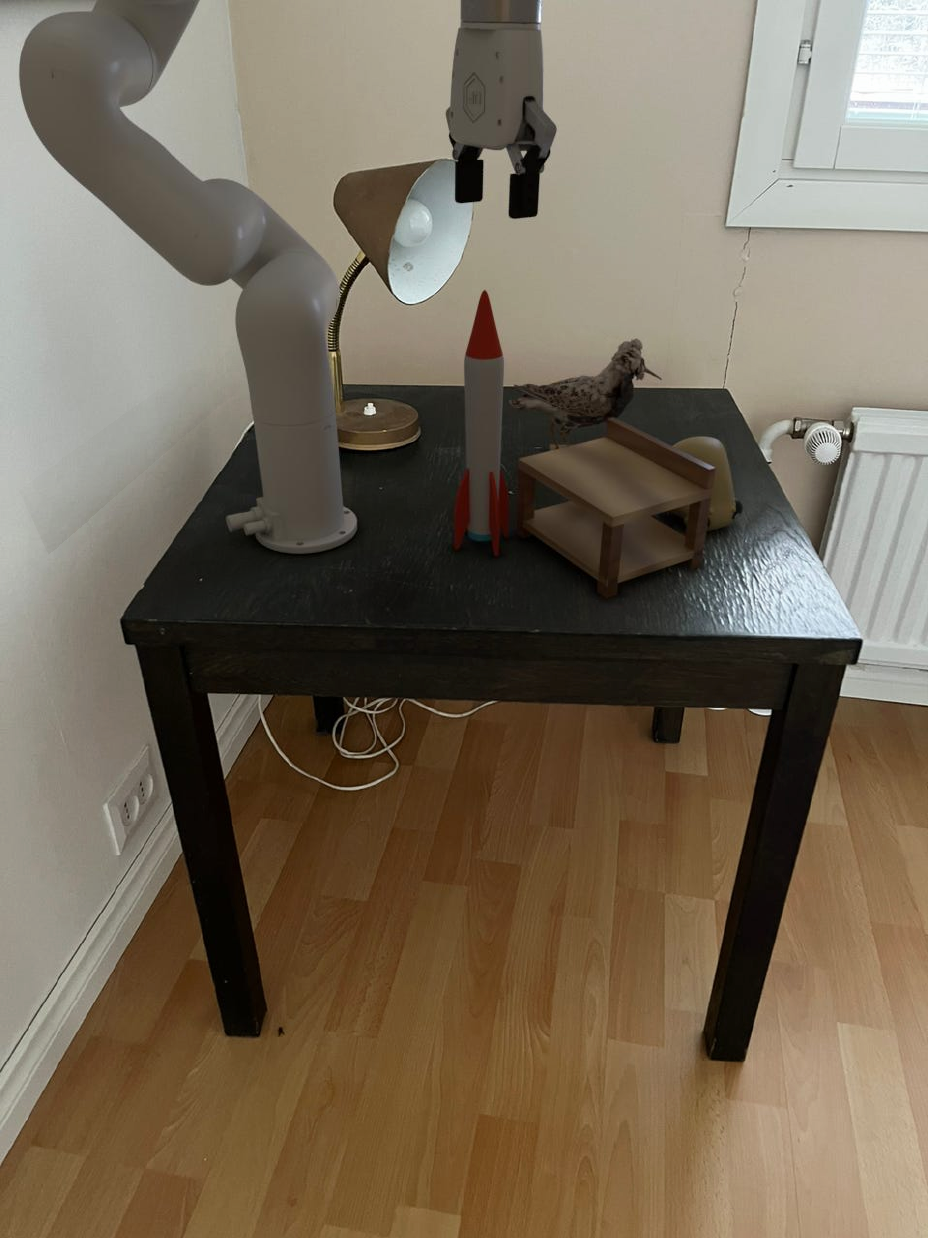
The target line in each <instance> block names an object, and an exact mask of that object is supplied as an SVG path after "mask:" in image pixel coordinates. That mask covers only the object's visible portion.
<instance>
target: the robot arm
mask: <svg viewBox="0 0 928 1238" xmlns="http://www.w3.org/2000/svg"><path fill="white" fill-rule="evenodd" d="M200 1H201V0H96V1H95V4H94V6H93V8H92V10H91V11H89V10H88V11H86V10H85V11H83V10H81V11H76V10H75V11H64V12H63V11H62V12H59V13H56V14H53V15H50V16H47V17H45V18H44V19H42V20H41V21H40V22H38V23H37V24H36V25H35V26H34V27H33V28H31V30H30V32H29V33H28V35H27V36H26V38H25V40H24V44H23V46H22V49H21V51H20V56H19V57H20V58H19V65H18V66H19V67H18V81H19V89H20V95H21V99H22V103H23V106H24V111H25V113H26V115H27V118H28V121H29V123H30V125H31V127H32V129H33V131H34V133H35V134H36V136H37V138H38V139H39V141H40V142H41V144H42V146H44V148H45V150H46V151H47V152H48V153H49V154H50V156H51V157H52V158H53V159H54V160H55V161H56V162H57V163H58V164H59V165H60V166H61V167H62V168H63V169H64V170H65V171H66V173H67V174H69V175H70V176H71V177H72V178H73V179H75V180H76V181H77V182H78V183H79V184H80V185H81V186H83V188H85V189H86V190H87V191H88V192H89V193H91V194H92V195H93V196H94V197H95V198H96V199H98V200H99V201H100V202H101V203H102V204H103V205H104V206H105V207H107V208H108V209H109V210H110V211H111V212H112V213H113V214H114V215H115V216H116V217H118V219H120V221H122V223H124V224H125V225H126V226H127V228H129V229H130V230H132V231H133V232H134V233H135V234H136V235H137V236H138V237H139V238H140V239H141V240H143V242H145V243H146V244H147V245H148V246H149V247H150V248H151V249H152V250H154V252H156V253H157V254H158V255H159V256H160V257H161V258H162V259H164V260H165V261H166V262H167V263H168V264H169V265H170V266H171V267H172V268H173V269H174V270H176V271H177V272H178V273H179V274H180V275H181V276H182V277H184V278H186V279H187V280H189V281H190V282H192V283H194V284H197V285H200V286H204V287H207V286H208V287H211V286H213V287H214V286H218V285H221V284H223V283H225V282H227V281H229V280H231V281H232V282H234V283H235V284H236V285H237V286H238V287H239V288H240V289H242V291H241V293H240V294H239V297H238V300H237V303H236V308H235V320H234V322H235V332H236V333H235V334H236V338H237V342H238V347H239V350H240V353H241V357H242V361H243V365H244V369H245V374H246V379H247V385H248V391H249V401H250V407H251V414H252V419H253V427H254V434H255V441H256V450H257V457H258V466H259V474H260V481H261V489H262V497H256V499H255V500H256V506H253V507H250V510H249V511H245V512H238V513H233V514H230V515H226V517H225V522H226V525H227V528H228V530H229V532H236V531H239V530H243V531H244V534H245V536H251V535H255V539H256V540H257V541H258V543H260V544H261V545H262V546H263V547H265V548H266V549H269V550H272V551H275V552H280V553H283V554H291V555H303V554H304V555H305V554H315V553H321V552H325V551H329V550H332V549H335V548H338V547H339V546H342V545H343V544H345V543H347V542H348V541H350V540H351V539H352V538H353V537H354V536H355V535H356V532H357V531H358V519H357V516H356V514H355V513H354V512H353V511H352V510H351V509H349V508H347V507H345V506H344V499H343V486H342V474H341V472H342V471H341V461H340V460H341V459H340V449H339V447H340V446H339V435H338V425H337V423H338V422H337V412H336V411H337V410H336V401H335V389H334V379H333V374H332V373H333V372H332V368H331V361H330V356H329V355H330V354H329V350H328V338H327V337H328V336H327V335H328V329H329V327H330V325H331V323H332V321H333V319H335V316H336V314H337V311H338V308H339V306H340V302H341V301H340V300H341V289H340V284H339V281H338V277H337V275H336V273H335V271H334V270H333V268H332V267H331V265H330V264H329V262H328V261H327V260H326V259H325V257H323V256H322V255H321V254H320V253H319V252H318V251H317V250H316V249H315V248H314V246H312V245H311V244H310V243H309V242H308V241H307V240H306V239H305V238H304V237H303V236H302V235H301V234H299V232H298V231H296V230H295V229H294V227H293V226H291V225H290V224H289V223H288V222H287V221H286V219H284V218H283V217H282V216H281V215H280V214H279V213H278V212H276V210H274V208H272V207H271V206H270V205H269V204H268V203H267V202H266V201H265V200H264V199H263V198H262V197H261V196H259V195H258V194H257V193H256V192H254V191H253V190H251V189H250V188H249V187H247V186H245V185H244V184H242V183H240V182H237V181H235V180H232V179H229V178H222V177H221V178H220V177H219V178H217V177H216V178H209V179H205V180H202V179H200V178H199V177H198V176H197V175H195V174H194V173H193V172H191V170H190V169H188V168H187V167H186V166H185V165H184V164H183V163H181V161H180V160H178V159H177V158H176V157H175V155H173V154H172V153H171V152H170V151H169V150H168V148H166V146H164V145H163V144H162V143H161V142H159V141H158V140H157V139H156V138H155V137H154V136H152V135H151V134H150V133H148V132H147V131H145V130H144V129H143V128H141V127H139V126H138V125H137V124H135V123H134V122H133V121H132V120H131V119H129V117H128V116H126V114H125V113H124V112H123V111H122V108H123V107H128V106H132V105H135V104H137V103H139V102H140V101H142V100H143V99H145V98H146V97H147V96H148V95H149V94H150V93H151V92H152V90H153V89H154V88H155V86H156V85H157V84H158V82H159V81H160V78H161V76H162V75H163V74H164V71H165V69H166V68H167V65H168V63H169V62H170V59H171V58H172V56H173V54H174V52H175V50H176V48H177V46H178V44H179V42H180V40H181V39H182V37H183V34H184V33H185V31H186V29H187V27H188V26H189V23H190V22H191V19H192V18H193V15H194V13H195V12H196V9H197V7H198V5H199V3H200ZM542 10H543V0H460V19H459V20H460V23H459V24H460V26H459V27H457V28H458V29H457V34H456V38H455V45H454V52H453V59H452V69H451V84H450V100H449V101H450V102H449V106H448V108H447V109H446V110H445V119H446V123H447V127H448V131H449V132H448V139H449V142H450V144H451V147H452V150H451V157H452V160H453V161H454V202H456V203H457V204H469V203H480V202H482V201H483V199H484V167H485V165H484V162H485V160H484V159H480V157H481V155H482V153H483V151H484V149H485V150H490V151H502V150H505V149H506V152H507V155H508V157H509V159H510V163H511V165H512V168H513V170H514V173H510V174H509V186H508V187H509V190H508V217H509V219H513V220H519V219H527V218H529V219H530V218H535V217H537V216H538V213H539V201H540V200H539V199H540V198H539V197H540V179H541V174H542V173H544V171H545V164H546V162H547V160H548V159H549V158H550V156H551V148H552V146H553V143H554V140H555V138H556V134H557V131H558V129H557V125H556V124H555V122H554V121H553V120H552V119H551V118H550V117H549V115H548V114H547V113H546V111H544V108H545V107H544V106H545V70H544V68H545V67H544V49H543V38H542V37H543V36H542ZM522 152H525V154H524V155H523V154H522Z"/></svg>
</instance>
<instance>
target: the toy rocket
mask: <svg viewBox="0 0 928 1238" xmlns="http://www.w3.org/2000/svg"><path fill="white" fill-rule="evenodd" d="M463 376H464V377H463V383H464V420H465V423H464V424H465V425H464V426H465V461H466V462H465V463H466V465H465V466H466V467H465V468H466V470H465V472H464V474H463V477H462V479H461V481H460V484H459V487H458V490H457V493H456V499H455V504H454V514H453V515H454V517H453V534H454V549H455V551H458V550H459V549H460V548H461V545H462V541H463V538H464V535H465V533H466V532H467V536H468V537H469V538H470V539H471V540H473V541H476V542H489V541H491V543H492V551H493V554H494V557H498V556H500V555H499V554H500V530H501V534H502V535H503V537H505V538H507V539H508V538H509V519H510V502H509V492H508V487H507V483H506V481H505V476H504V475H503V472H502V471H501V451H502V449H501V448H502V447H501V446H502V427H503V424H502V423H503V406H504V405H503V401H504V378H505V358H504V354H503V350H502V346H501V341H500V338H499V334H498V330H497V326H496V321H495V317H494V311H493V307H492V303H491V299H490V296H489V293H488V291H487V290H486V289H483V290H482V291H481V294H480V297H479V299H478V303H477V308H476V312H475V315H474V320H473V324H472V328H471V332H470V336H469V339H468V343H467V346H466V350H465V354H464V359H463Z"/></svg>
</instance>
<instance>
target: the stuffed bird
mask: <svg viewBox="0 0 928 1238" xmlns="http://www.w3.org/2000/svg"><path fill="white" fill-rule="evenodd" d="M642 350H643V343H642V341H641V340H640V339H639V338H636V337H635V338H634V339H631V341H629V340H625V341H623V342H622V343H620V344H619V345H618V347H617V351H616V352H614V354H613V356H611V359H610V360H611V361H610V362H609V363H608V364H607V366H605V367H604V368H603V369H602V370H601V371H600V373H599V374H597V375H594V376H593V375H580V376H576V377H575V376H574V377H569V378H565V379H562V380H559V381H555V382H552V383H550V384H541V385H538V384H534V383H524V384H522V385H521V384H520V385H519V384H518V385H517V384H513V387H514V388H516V391H518V392H521V393H524V394H522V395H521V396H520V397H519V398H517V399H515V400H513V399H509V404H510V406H512V408H513V409H514V410H515V411H516V412H517V413H519V412H520V411H524V410H532V411H536V412H539V413H542V414H546V416H547V417H548V419H549V420H550V421H551V422H552V423H551V424H550V425H549V431H550V434H551V436H552V440H553V442H554V444H553V443H550V444H549V447H548V448H549V449H548V451H552V450H556V449H560V448H564V447H568V446H572V445H573V444H571V443H570V441H568V438H567V437H568V435H570V434H573V432H572V430H576V429H580V428H586V427H592V426H598V425H600V424H602V423H605V422H606V423H607V419H608V418H612V417H614V418H616V419H618V418H619V417H620V416H621V415H622V414H623V412H624V411H625V409H626V407H627V406H628V405H629V404H630V402H631V401H632V400H633V398H634V396H635V386H634V382H633V380H634V379H635V377H636V379H635V380H636V381H639V380H640V381H643V379H644V377H645V373H646V374H649V375H651V376H652V377H655V378H656V379H659V380H660V381H663V378H662V377H660V376H659V375H657V374H656V373H654V372H653V371H651V370H650V369H649V368H647V366H646V364H645V359H644V357H643V356H642ZM555 426H557V427H558V426H559V429H558V430H557V431H556V433H555V432H554V427H555ZM555 434H556V435H557V434H558V435H559V438H560V437H561V438H562V440H563V442H564V443H565V444H558V441H557V438H556V435H555Z"/></svg>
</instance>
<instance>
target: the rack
mask: <svg viewBox="0 0 928 1238" xmlns="http://www.w3.org/2000/svg"><path fill="white" fill-rule="evenodd" d="M571 445H572V446H568V447H564V448H560V449H556V450H552V451H549V450H547V451H544V452H539V453H536V454H532V455H527V456H523V457H520V458H519V457H518V459H517V460H518V461H517V464H518V465H517V492H516V495H517V497H516V528H515V534H516V535H518V536H519V537H520V538H521V539H526V538H530V537H533V536H534V537H536V538H537V539H539V540H540V541H541V542H543V543H544V544H545V545H547V546H549V547H550V548H552V549H553V550H554V551H556V552H557V553H558V554H560V555H561V556H562V557H564V558H565V559H566V560H568V561H569V562H571V563H572V564H574V565H575V566H577V567H578V568H580V569H581V570H582V571H584V572H585V573H587V574H588V575H589V576H591V577H592V578H593V579H595V580H596V581H597V589H596V592H597V594H599V595H600V596H601V597H603V598H604V599H608V598H611V597H615V596H617V594H618V586H619V583H622V582H626V581H629V580H632V579H635V578H638V577H640V576H644V575H647V574H649V573H653V572H656V571H659V570H662V569H665V568H667V567H671V566H674V565H676V564H680V563H681V565H682V566H684V567H685V568H687V569H689V570H694V569H697V568H700V567H702V562H703V561H702V560H703V554H704V548H705V543H706V542H705V541H706V534H707V531H706V529H707V523H708V516H709V509H710V503H711V497H712V490H713V484H714V477H715V471H716V468H715V467H713V466H711V465H709V464H707V463H705V462H703V461H701V460H699V459H697V458H695V457H693V456H691V455H689V454H687V453H685V452H683V451H681V450H679V449H677V448H674V447H672V446H673V445H670V444H669V443H666V442H665V441H662V440H661V439H658V438H657V437H655V436H653V435H650V434H648V433H646V432H644V431H642V430H640V429H638V428H637V427H634V426H632V425H630V424H628V423H626V422H624V421H622V420H620V419H618V418H614V417H612V418H608V419H607V422H606V430H605V437H601V438H596V439H592V440H588V441H585V442H581V443H577V444H571ZM537 481H538V482H540V483H541V484H542V485H545V486H546V487H547V488H549V489H551V490H552V491H554V492H555V493H557V494H558V495H560V496H562V497H563V498H565V499H567V500H568V501H565V502H561V503H558V504H554V505H550V506H546V507H543V508H540V509H536V488H537V487H536V485H537ZM689 504H690V508H689V516H688V523H687V526H686V531H685V535H683V534H681V533H680V532H678V531H676V530H675V529H673V528H671V527H669V526H668V525H666V524H664V523H662V522H661V521H660V520H658V519H656V518H654V517H653V516H655V515H658V514H662V513H665V512H669V511H670V510H672V509H675V508H679V507H682V506H685V505H689Z"/></svg>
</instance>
